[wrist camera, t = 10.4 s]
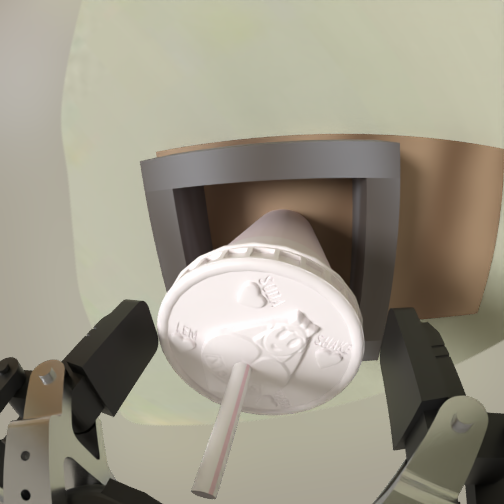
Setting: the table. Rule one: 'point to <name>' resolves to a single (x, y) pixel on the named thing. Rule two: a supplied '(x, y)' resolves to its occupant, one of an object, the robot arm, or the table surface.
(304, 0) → the table surface
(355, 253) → the board
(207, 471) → the smoothie
